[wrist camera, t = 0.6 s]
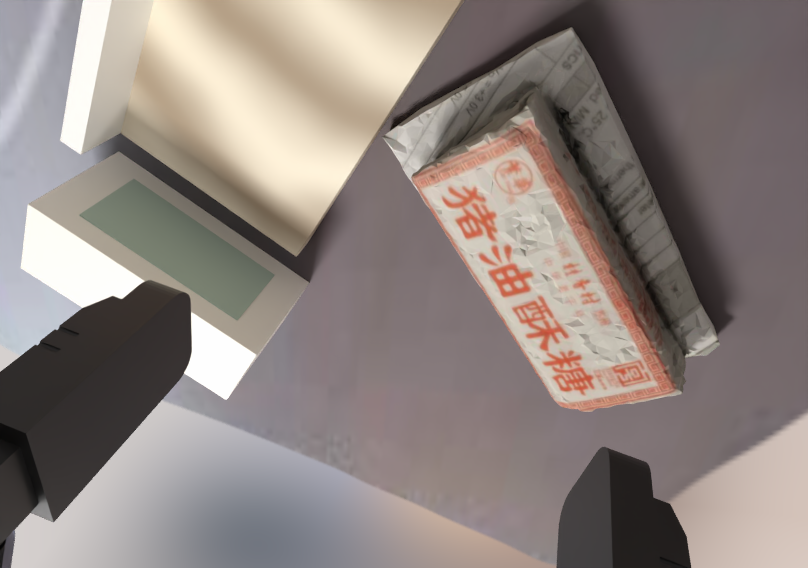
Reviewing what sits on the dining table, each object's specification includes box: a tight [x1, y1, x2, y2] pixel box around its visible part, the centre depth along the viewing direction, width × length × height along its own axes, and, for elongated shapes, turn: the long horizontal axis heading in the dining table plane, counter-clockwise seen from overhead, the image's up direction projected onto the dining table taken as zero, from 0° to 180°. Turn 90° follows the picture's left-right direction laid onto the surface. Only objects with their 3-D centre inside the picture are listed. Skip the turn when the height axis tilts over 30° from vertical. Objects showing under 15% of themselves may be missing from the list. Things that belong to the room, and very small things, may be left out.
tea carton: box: [21, 151, 309, 400], centre depth 34 cm, size 6×14×7 cm, turn 58°
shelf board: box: [121, 0, 465, 257], centre depth 26 cm, size 21×13×2 cm, turn 147°
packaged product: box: [383, 27, 720, 412], centre depth 27 cm, size 18×5×10 cm
